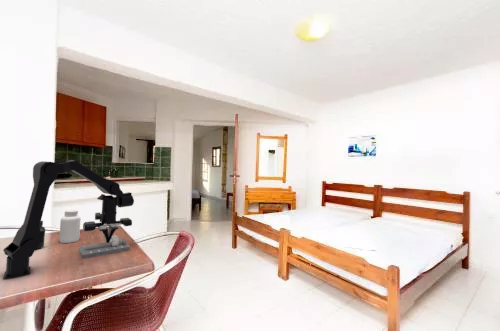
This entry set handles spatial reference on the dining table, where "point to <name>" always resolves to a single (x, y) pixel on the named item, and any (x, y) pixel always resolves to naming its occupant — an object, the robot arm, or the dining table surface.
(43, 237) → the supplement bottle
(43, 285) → the dining table surface
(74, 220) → the pill bottle
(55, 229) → the dining table surface
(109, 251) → the console
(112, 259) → the dining table surface
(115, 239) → the fader
